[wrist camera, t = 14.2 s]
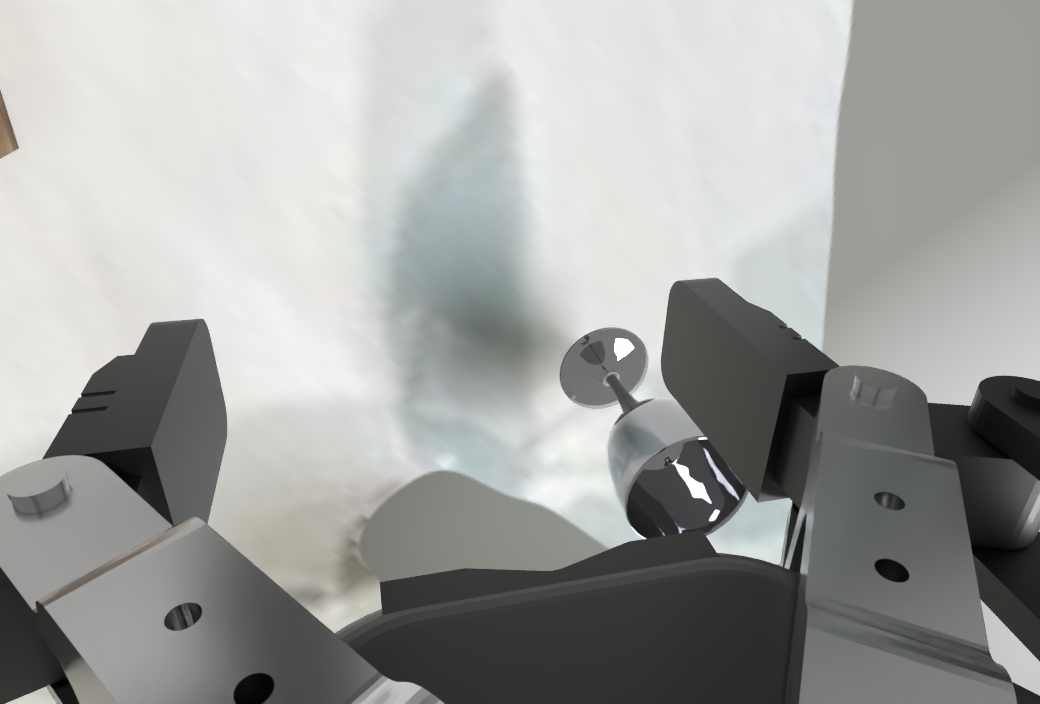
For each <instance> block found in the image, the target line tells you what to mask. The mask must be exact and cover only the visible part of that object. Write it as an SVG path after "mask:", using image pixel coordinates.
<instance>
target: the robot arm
mask: <svg viewBox="0 0 1040 704" xmlns="http://www.w3.org/2000/svg"><path fill="white" fill-rule="evenodd" d="M661 369H662V375H663V379H664V382H665V385H666V387H667V389H668V390H669V392H670V393H671V394H672V396H673V397H674V398H675V399H676V401H677V402H678V403H679V404H680V406H681V407H682V408H683V409H684V411H685V412H686V413H687V414H688V416H689V417H690V418H691V419H692V421H693V422H694V423H695V424H696V426H697V427H698V428H699V429H700V431H701V432H702V433H703V434H704V436H705V437H706V438H707V439H708V441H709V442H710V443H711V444H712V446H713V447H714V448H715V449H716V451H717V452H718V453H719V455H720V456H721V457H722V458H723V460H724V461H725V462H726V463H727V465H728V466H729V467H730V468H731V470H732V471H733V472H734V473H735V475H736V476H737V477H738V478H739V480H740V481H741V482H742V483H743V485H744V486H745V487H746V488H747V490H748V491H749V492H750V493H751V495H752V496H753V497H754V498H755V500H756V501H757V502H764V501H770V500H777V499H783V498H790V499H791V500H792V503H791V507H790V511H789V515H788V519H787V525H786V531H785V537H784V544H783V550H782V556H781V563H780V566H779V565H776V564H772V563H769V562H766V561H763V560H759V559H754V558H750V557H745V556H739V555H732V554H724V553H716V551H715V549H714V548H713V546H712V545H711V543H710V542H709V540H708V539H707V537H706V536H705V534H704V533H703V531H702V530H698V531H692V532H686V533H680V534H673V535H667V536H661V537H655V538H649V539H643V540H637V541H631V542H627V543H624V544H622V545H619V546H617V547H614V548H612V549H609V550H607V551H604V552H602V553H600V554H597V555H595V556H593V557H590V558H587V559H585V560H582V561H580V562H577V563H575V564H572V565H570V566H567V567H565V568H562V569H559V570H554V571H525V570H494V569H459V570H452V571H446V572H440V573H434V574H428V575H422V576H416V577H409V578H404V579H397V580H391V581H385V582H380V590H381V603H382V609H381V610H378V611H376V612H374V613H371V614H369V615H367V616H365V617H363V618H361V619H359V620H357V621H355V622H353V623H351V624H349V625H347V626H345V627H344V628H342V629H341V630H339V631H338V632H336V633H335V634H334V633H333V632H332V631H331V630H330V629H328V628H327V627H326V626H325V625H324V624H323V623H322V622H320V621H319V620H318V619H317V618H316V617H315V616H313V615H312V614H311V613H310V612H309V611H308V610H306V609H305V608H304V607H303V606H302V605H301V604H299V603H298V602H297V601H296V600H295V599H294V598H292V597H291V596H290V595H289V594H288V593H287V592H285V591H284V590H283V589H282V588H281V587H280V586H279V585H277V584H276V583H275V582H274V581H273V580H272V579H270V578H269V577H268V576H267V575H266V574H265V573H263V572H262V571H261V570H260V569H259V568H258V567H256V566H255V565H254V564H253V563H252V562H251V561H249V560H248V559H247V558H246V557H245V556H244V555H243V554H241V553H240V552H239V551H238V550H237V549H236V548H234V547H233V546H232V545H231V544H230V543H229V542H227V541H226V540H225V539H224V538H223V537H222V536H220V535H219V534H218V533H217V532H216V531H215V530H213V529H212V528H211V527H210V526H209V525H208V524H207V523H208V519H209V514H210V510H211V505H212V501H213V497H214V492H215V488H216V483H217V479H218V475H219V470H220V466H221V461H222V457H223V453H224V448H225V444H226V439H227V415H226V407H225V402H224V397H223V392H222V388H221V383H220V379H219V374H218V370H217V365H216V361H215V356H214V352H213V347H212V343H211V338H210V334H209V330H208V327H207V325H206V323H205V321H204V320H203V319H193V320H181V321H168V322H156V323H151V324H150V326H149V328H148V329H147V331H146V333H145V335H144V337H143V339H142V341H141V343H140V345H139V347H138V349H137V351H136V353H135V355H125V356H117V357H116V358H114V359H113V360H112V361H110V362H109V363H108V364H106V365H105V366H103V367H102V368H101V369H99V370H98V371H97V372H95V373H94V374H93V375H92V376H91V378H90V380H89V381H88V383H87V385H86V387H85V388H84V390H83V392H82V393H81V396H82V397H81V398H78V400H77V402H76V403H75V405H74V407H73V408H72V414H69V415H68V417H67V418H66V420H65V422H64V424H63V425H62V427H61V429H60V430H59V432H58V434H57V435H56V437H55V439H54V440H53V442H52V444H51V445H50V447H49V449H48V450H47V452H46V454H45V455H44V457H43V459H42V460H39V461H35V462H32V463H29V464H26V465H24V466H21V467H18V468H16V469H14V470H12V471H10V472H7V473H6V474H4V475H2V476H0V704H5V703H7V702H10V701H12V700H14V699H17V698H19V697H22V696H24V695H26V694H29V693H31V692H34V691H36V690H38V689H41V688H43V687H47V689H48V691H49V693H50V694H51V696H52V697H53V699H54V700H55V702H56V703H57V704H1040V696H1039V695H1037V694H1035V693H1033V692H1031V691H1029V690H1027V689H1025V688H1023V687H1021V686H1019V685H1017V684H1015V683H1013V682H1012V681H1011V678H1010V675H1009V674H1008V672H1007V670H1006V669H1005V668H1004V667H1003V666H1002V665H999V664H997V663H995V662H994V661H993V659H992V657H991V654H990V651H989V646H988V641H987V636H986V629H985V623H984V618H983V612H982V606H981V601H980V599H981V600H982V601H983V602H984V603H985V604H986V605H987V606H988V607H989V608H990V609H991V611H993V613H994V614H995V615H996V616H998V618H999V619H1000V620H1001V621H1002V622H1003V623H1004V624H1005V625H1006V626H1007V627H1008V628H1009V629H1010V631H1011V632H1012V633H1014V635H1015V636H1016V637H1017V638H1018V639H1019V640H1020V641H1021V642H1022V643H1023V644H1024V645H1025V646H1026V647H1027V648H1028V649H1029V650H1030V651H1031V653H1032V654H1033V655H1034V656H1035V657H1036V658H1037V659H1038V660H1039V661H1040V532H1039V530H1040V381H1036V380H1033V379H1028V378H1023V377H1016V376H994V377H989V378H986V379H984V380H983V381H981V382H980V384H979V386H978V389H977V391H976V394H975V397H974V399H973V402H972V405H971V406H964V405H950V404H937V403H928V402H927V397H926V395H925V393H924V392H923V391H922V390H921V389H920V388H919V387H918V386H917V385H916V384H914V383H913V382H911V381H909V380H908V379H906V378H904V377H901V376H900V375H897V374H895V373H892V372H889V371H886V370H882V369H878V368H873V367H867V366H841V367H840V366H839V365H838V364H836V363H835V362H834V361H832V360H831V359H830V358H829V357H827V356H826V355H825V354H824V353H822V352H821V351H820V350H819V349H817V348H816V347H815V346H813V345H812V344H811V343H810V342H808V341H807V340H806V339H801V335H799V334H798V333H797V332H795V331H794V330H793V329H792V328H787V324H785V323H784V322H783V321H781V320H780V319H779V318H778V317H776V316H775V315H774V314H772V313H771V312H770V311H767V310H765V309H763V308H760V307H758V306H756V305H753V304H751V303H749V302H747V301H746V300H744V299H743V298H742V297H741V296H739V295H738V294H737V293H736V292H734V291H733V290H732V289H731V288H729V287H728V286H727V285H726V284H724V283H723V282H722V281H721V280H719V279H718V278H708V279H695V280H683V281H677V282H675V283H674V284H673V286H672V288H671V290H670V294H669V300H668V308H667V316H666V324H665V331H664V339H663V347H662V355H661Z"/></svg>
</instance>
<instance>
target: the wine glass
mask: <svg viewBox="0 0 1040 704" xmlns="http://www.w3.org/2000/svg"><path fill="white" fill-rule="evenodd" d="M647 368H648V354H647V350H646V347H645V345H644V344H643V342H642V341H641V339H640V338H639V337H637V336H636V335H635V334H633V333H632V332H630V331H627V330H624V329H620V328H606V329H600V330H597V331H594V332H592V333H590V334H588V335H586V336H584V337H583V338H582V339H580V340H579V341H578V342H577V343H576V344H575V345H574V346H573V347H572V348H571V349H570V350H569V352H568V353H567V355H566V357H565V359H564V361H563V364H562V367H561V374H560V375H561V384H562V388H563V390H564V392H565V394H566V395H567V396H568V397H569V398H570V399H571V400H572V401H573V402H574V403H576V404H578V405H580V406H583V407H586V408H593V409H599V408H606V407H611V406H613V405H616V404H618V403H619V404H620V406H621V409H622V414H621V415H620V417H619V418H618V419H617V420H616V422H615V423H614V425H613V427H612V429H611V431H610V433H609V436H608V438H607V443H606V463H607V469H608V474H609V478H610V481H611V485H612V488H613V491H614V494H615V496H616V498H617V500H618V503H619V505H620V507H621V509H622V511H623V513H624V515H625V517H626V518H627V520H628V522H629V524H630V526H631V527H632V529H633V530H634V531H635V532H636V533H637V534H638V535H639V536H641V537H642V538H643V539H649V538H655V537H661V536H667V535H673V534H680V533H686V532H692V531H698V530H702V531H703V533H704V534H705V536H707V535H709V534H711V533H713V532H714V531H716V530H717V529H719V528H720V527H722V526H723V525H724V524H725V523H726V522H728V521H729V520H730V519H731V518H732V517H733V516H734V515H735V513H736V512H737V511H738V510H739V508H740V507H741V505H742V504H743V503H744V501H745V499H746V497H747V495H748V492H749V491H748V490H747V488H746V487H745V486H744V485H743V483H742V482H741V481H740V480H739V478H738V477H737V476H736V475H735V473H734V472H733V471H732V470H731V468H730V467H729V466H728V465H727V463H726V462H725V461H724V460H723V458H722V457H721V456H720V455H719V453H718V452H717V451H716V449H715V448H714V447H713V446H712V444H711V443H710V442H709V441H708V439H707V438H706V437H705V436H704V434H703V433H702V432H701V431H700V429H699V428H698V427H697V426H696V424H695V423H694V422H693V421H692V419H691V418H690V417H689V416H688V414H687V413H686V412H685V411H684V409H683V408H682V407H681V406H680V404H679V403H678V402H677V401H676V399H674V398H652V399H647V400H644V401H641V402H639V401H637V400H636V399H635V398H633V397H632V396H631V395H632V394H633V393H634V392H635V391H636V390H637V389H638V387H639V386H640V385H641V383H642V381H643V380H644V377H645V375H646V372H647Z"/></svg>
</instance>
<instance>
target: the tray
mask: <svg viewBox="0 0 1040 704" xmlns="http://www.w3.org/2000/svg"><path fill="white" fill-rule="evenodd" d="M18 148H19V147H18V144H17V141H16V138H15V135H14V132H13V129H12V126H11V122H10V119H9V116H8V113H7V110H6V107H5V104H4V101H3V98H2V95H1V91H0V159H1V158H2V157H4V156H6V155H8V154H9V153H11V152H13V151H15V150H16V149H18Z"/></svg>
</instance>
